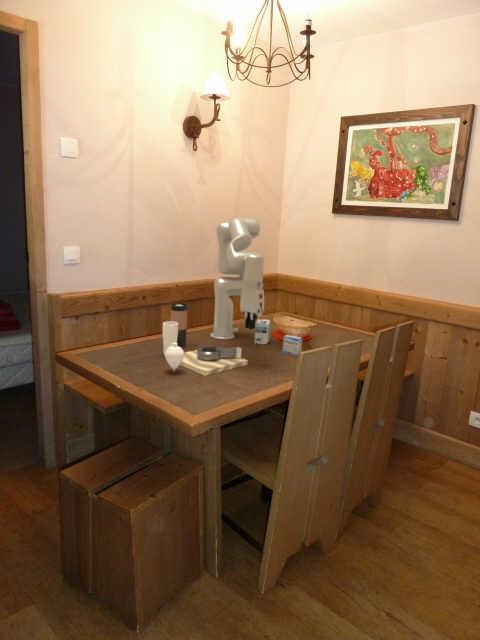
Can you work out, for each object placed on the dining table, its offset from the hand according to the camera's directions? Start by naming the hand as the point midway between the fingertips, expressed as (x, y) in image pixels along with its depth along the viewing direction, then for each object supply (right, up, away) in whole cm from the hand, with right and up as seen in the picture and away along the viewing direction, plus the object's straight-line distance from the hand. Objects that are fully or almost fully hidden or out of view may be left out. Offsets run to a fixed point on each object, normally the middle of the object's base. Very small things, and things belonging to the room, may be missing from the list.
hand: (250, 328), depth 194 cm
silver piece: (-13, -13, +7) cm, 20 cm away
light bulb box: (+7, -8, +45) cm, 46 cm away
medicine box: (+20, -13, +26) cm, 36 cm away
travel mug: (-34, -9, +29) cm, 46 cm away
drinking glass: (-36, -13, +13) cm, 40 cm away
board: (-18, -15, +7) cm, 24 cm away
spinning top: (-31, -18, -7) cm, 36 cm away
